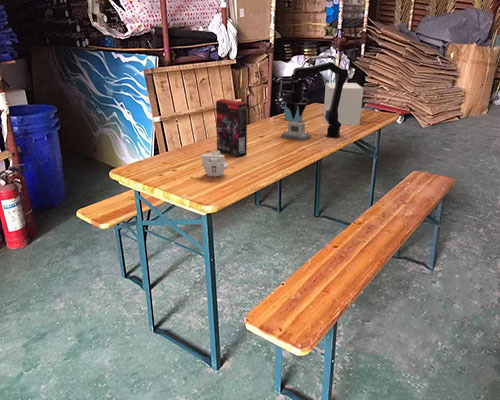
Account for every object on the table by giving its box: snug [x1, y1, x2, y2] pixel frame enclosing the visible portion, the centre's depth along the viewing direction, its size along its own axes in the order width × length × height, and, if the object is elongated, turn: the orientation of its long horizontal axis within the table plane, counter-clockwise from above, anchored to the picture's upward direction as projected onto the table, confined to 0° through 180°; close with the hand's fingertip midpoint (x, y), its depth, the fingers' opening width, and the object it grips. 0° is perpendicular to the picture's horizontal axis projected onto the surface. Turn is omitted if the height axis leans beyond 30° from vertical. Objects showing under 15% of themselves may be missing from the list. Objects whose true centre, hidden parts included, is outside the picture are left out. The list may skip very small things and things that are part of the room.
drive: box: [287, 121, 306, 136], centre depth 262 cm, size 9×5×7 cm, turn 58°
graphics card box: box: [215, 98, 248, 158], centre depth 227 cm, size 17×7×27 cm, turn 46°
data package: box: [283, 103, 303, 123], centre depth 303 cm, size 12×4×12 cm, turn 51°
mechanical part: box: [201, 150, 229, 179], centre depth 197 cm, size 11×12×12 cm
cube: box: [323, 82, 364, 126], centre depth 302 cm, size 25×21×24 cm
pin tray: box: [280, 129, 312, 142], centre depth 263 cm, size 15×9×4 cm, turn 58°
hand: (296, 117), depth 259 cm, fingers open, 9 cm apart
